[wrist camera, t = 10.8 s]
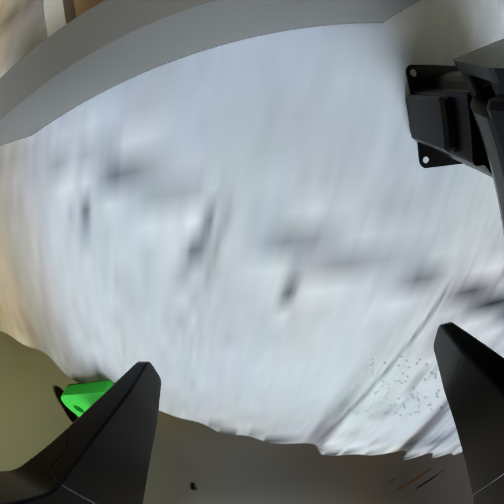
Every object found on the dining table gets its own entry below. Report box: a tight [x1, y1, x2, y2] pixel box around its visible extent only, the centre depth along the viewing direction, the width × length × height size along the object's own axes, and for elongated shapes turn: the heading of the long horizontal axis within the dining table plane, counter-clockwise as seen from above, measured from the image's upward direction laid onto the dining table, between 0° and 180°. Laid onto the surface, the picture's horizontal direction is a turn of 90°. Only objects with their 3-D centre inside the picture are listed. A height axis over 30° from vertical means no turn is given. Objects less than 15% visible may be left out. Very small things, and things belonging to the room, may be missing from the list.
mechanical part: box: [61, 380, 114, 417], centre depth 27 cm, size 12×6×8 cm, turn 116°
